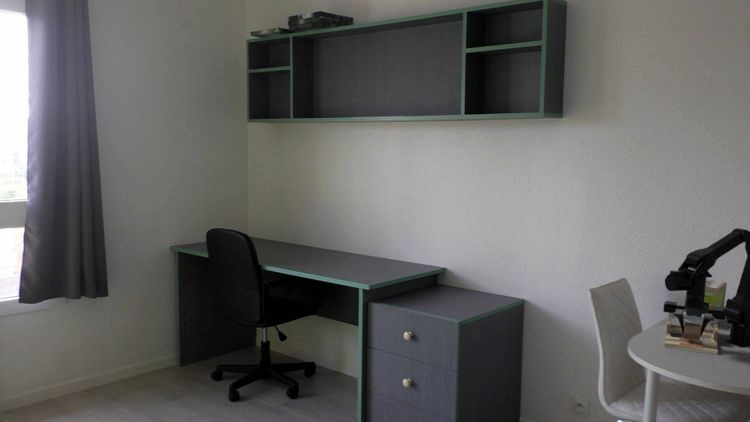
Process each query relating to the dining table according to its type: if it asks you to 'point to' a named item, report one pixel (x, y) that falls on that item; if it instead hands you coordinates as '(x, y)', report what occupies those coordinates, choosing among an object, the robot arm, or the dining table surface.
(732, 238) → the robot arm
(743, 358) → the dining table surface
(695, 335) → the walnut block
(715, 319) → the sliding slat
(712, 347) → the puzzle board
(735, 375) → the dining table surface
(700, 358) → the dining table surface
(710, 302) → the tea box
